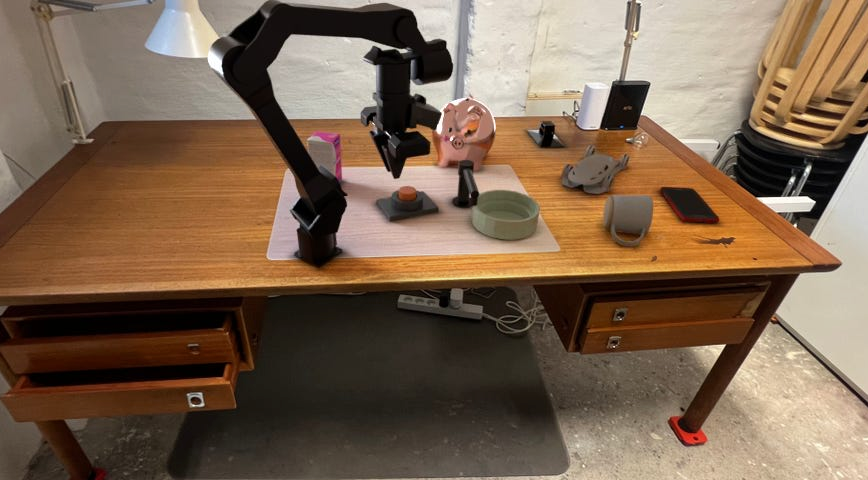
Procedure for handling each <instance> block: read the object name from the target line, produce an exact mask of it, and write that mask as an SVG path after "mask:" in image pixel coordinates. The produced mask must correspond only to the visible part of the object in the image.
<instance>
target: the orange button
mask: <svg viewBox="0 0 868 480" xmlns="http://www.w3.org/2000/svg"><path fill="white" fill-rule="evenodd" d="M398 190H399V199H401V200H406V201H409V200H414V199H415V198H416V190H417V189H416V187H414V186H411V185H404V186H401V187H399V188H398Z"/></svg>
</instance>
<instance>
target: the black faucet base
mask: <svg viewBox="0 0 868 480" xmlns="http://www.w3.org/2000/svg"><path fill="white" fill-rule="evenodd" d="M457 185H458V186H457V187H458V188H457V196H455V197H453V198H452V200H451V204H452V205H453V206H454V207H456V208H459V209H470V208H472V206H471V205H470V199H471V195H470V192H469V189H468V186H467V183H466V180H465V178H464V177H460V176H459V175H458V184H457Z"/></svg>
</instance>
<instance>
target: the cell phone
mask: <svg viewBox="0 0 868 480" xmlns="http://www.w3.org/2000/svg"><path fill="white" fill-rule="evenodd" d="M659 192H660V193H661V194H662V195H663V197H664V198H665V199H666V201H667V202H668V204H669V205H670V206H671V208H672V209H673V210H674V212H675V214H677V216H678V217H679V218H680V220H681V221H683V222H686V223H707V224H718V223H719V221H720V217H719V215H717V214H716V212H715V211H714V209H712V208H711V206H710V205H709V204H708V203H707V202H706V200H704V199H703V198H702V197H701V195H700V194H699V193H698V192H697V190H695V189H694V188H692V187H681V186H680V187H677V186H661V187H660V190H659Z"/></svg>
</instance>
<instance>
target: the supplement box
mask: <svg viewBox="0 0 868 480" xmlns="http://www.w3.org/2000/svg"><path fill="white" fill-rule="evenodd" d="M306 141H307V151H308V153H309V155H310V156H311V158H312V160H313V161H314V163H315V165H316V166H317V168H319V167H320V166H321V165H323V166H324V167H325V168H326V169H327V170H329V171H330V172H331V173H332V174H333V175H335V176H336V177H337V179H338V181H339V183H340V184H341V183H342V181H343V169H342V167H343V165H342V146H341V145H342V144H341V141H342V140H341V134H340V133H336V132H335V133H334V132H326V131H318V130H316V131H315V132H314V133H313V134H312V135H311V136H310V137H309V138H308V139H307V140H306Z"/></svg>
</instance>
